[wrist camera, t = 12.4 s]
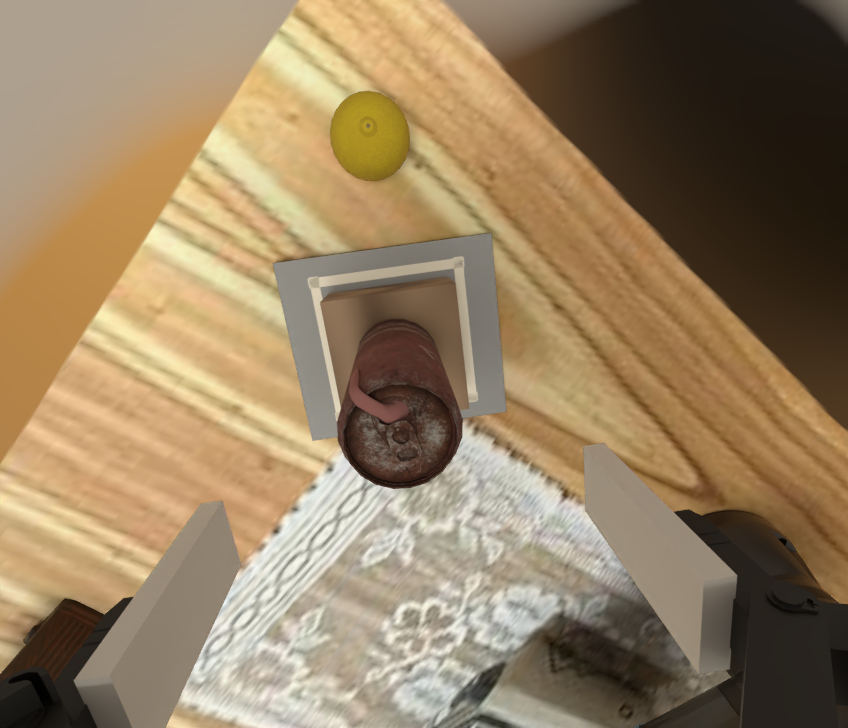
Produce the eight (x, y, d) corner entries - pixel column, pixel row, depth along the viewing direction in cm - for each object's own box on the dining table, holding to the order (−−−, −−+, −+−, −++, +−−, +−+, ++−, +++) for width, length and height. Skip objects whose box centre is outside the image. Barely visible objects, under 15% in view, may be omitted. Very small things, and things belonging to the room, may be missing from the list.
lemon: (386, 199, 37) (384, 191, 29) (324, 160, 36) (306, 141, 28) (420, 135, 36) (429, 109, 28) (358, 93, 34) (349, 54, 27)
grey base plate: (488, 233, 38) (491, 233, 37) (503, 407, 43) (506, 411, 42) (275, 262, 37) (272, 263, 36) (314, 436, 42) (312, 441, 41)
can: (384, 299, 33) (380, 347, 20) (453, 348, 34) (492, 424, 21) (338, 363, 34) (303, 450, 21) (406, 408, 36) (414, 517, 22)
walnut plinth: (447, 276, 38) (455, 283, 33) (460, 387, 41) (469, 408, 36) (328, 293, 37) (319, 302, 33) (350, 404, 40) (344, 427, 36)
